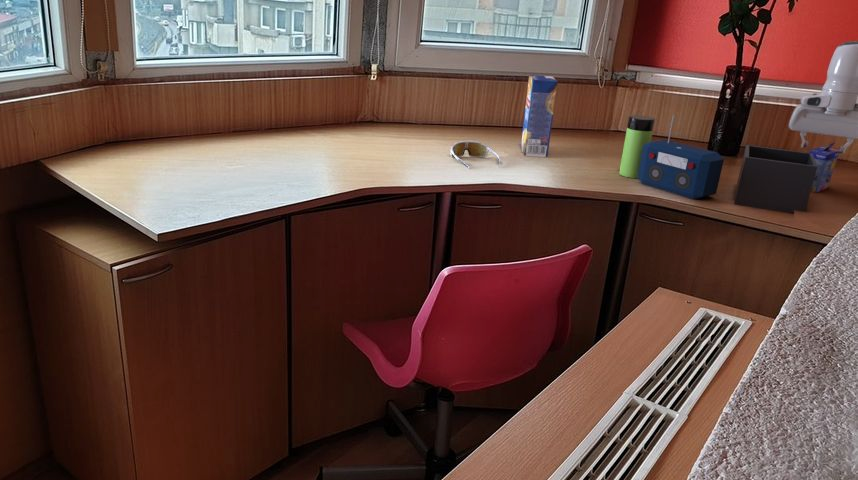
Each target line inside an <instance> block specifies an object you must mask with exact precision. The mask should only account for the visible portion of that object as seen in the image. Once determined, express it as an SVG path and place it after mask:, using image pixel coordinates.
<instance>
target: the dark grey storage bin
mask: <svg viewBox="0 0 858 480" xmlns="http://www.w3.org/2000/svg"><path fill="white" fill-rule="evenodd" d="M740 165H741V166H740V169H739V174H738V178H737V182H736V186H735V193H734V201H733V202H734V204H733V205H738V206H745V207H751V208H756V207H757V209H763V210H768V211H769V210H770V211H775V210H776V212H782V213H789V214H795V211H799V212H806V209H807V206H808V202H809V199H810V195H811V188H812V185H813V181H814V178H815V174H816V170H817V164H816V162H815V159H814V156H813V153H809V152H804V151H796V150H788V149H782V148H781V149H780V148H773V147H765V146H757V145H750V144H746V145H745V148H744V153H743V157H742V160H741V164H740Z"/></svg>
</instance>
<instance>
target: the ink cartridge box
mask: <svg viewBox="0 0 858 480" xmlns="http://www.w3.org/2000/svg"><path fill="white" fill-rule="evenodd" d="M835 143H836V142H835V141H834V142H831V143H829V144H828V145H827V146H826V147H825V146H818V147H815V148H811V149H810V150H809V151H808V153H813V156H814V159H815V162H816V164H817V170H816V174H815V178H814V181H813V185H812V188H811V192H812V193H819V192H821V191H824V190H826V189H828V188H829V185H830V182H831V179H832V176H833V173H834V171H835V168H836V164H837V161H838V158H839V155H840V153H838V151H839V149H835V148H832V147H833V146H834V145H835ZM811 192H810V193H811Z"/></svg>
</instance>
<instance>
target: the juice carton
mask: <svg viewBox="0 0 858 480" xmlns="http://www.w3.org/2000/svg"><path fill="white" fill-rule="evenodd" d="M557 89H558V80H557V79H556V78H555V77H554V76H552V75H551V76H550V75H534V74H529V75H528V81H527V91H526V99H525V108H524V115H523V124H522V131H521V139H520V149H521V151H522V154H523V156H524V157H539V158H548V155H549V149H550V148H549V147H550V143H551V133H552V127H553V119H554V110H555V104H556V97H557Z"/></svg>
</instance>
